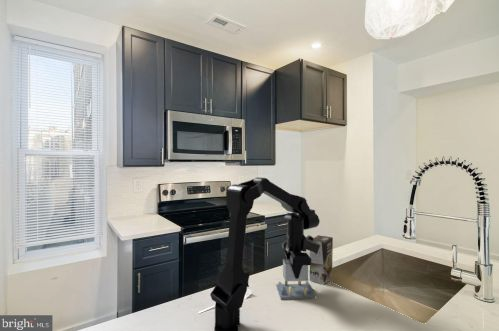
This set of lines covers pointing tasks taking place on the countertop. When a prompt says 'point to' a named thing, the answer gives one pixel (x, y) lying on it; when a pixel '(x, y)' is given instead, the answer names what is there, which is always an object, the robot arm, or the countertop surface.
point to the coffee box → (321, 260)
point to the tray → (295, 291)
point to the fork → (214, 305)
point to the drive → (289, 273)
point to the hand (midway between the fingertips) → (295, 275)
